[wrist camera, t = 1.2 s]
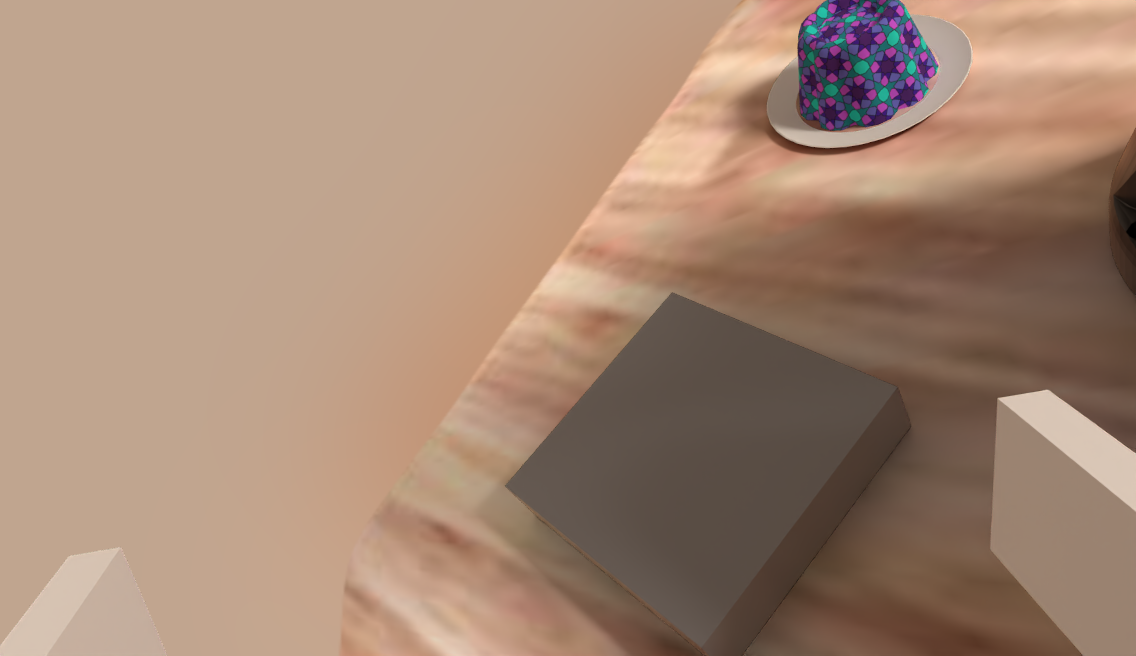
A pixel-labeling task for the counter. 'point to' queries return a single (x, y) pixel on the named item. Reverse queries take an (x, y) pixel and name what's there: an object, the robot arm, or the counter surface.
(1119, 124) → the counter surface
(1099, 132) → the counter surface
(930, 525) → the counter surface
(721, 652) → the stand
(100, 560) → the robot arm
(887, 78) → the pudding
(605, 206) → the counter surface
